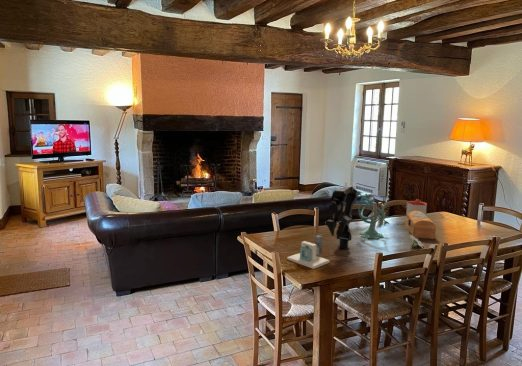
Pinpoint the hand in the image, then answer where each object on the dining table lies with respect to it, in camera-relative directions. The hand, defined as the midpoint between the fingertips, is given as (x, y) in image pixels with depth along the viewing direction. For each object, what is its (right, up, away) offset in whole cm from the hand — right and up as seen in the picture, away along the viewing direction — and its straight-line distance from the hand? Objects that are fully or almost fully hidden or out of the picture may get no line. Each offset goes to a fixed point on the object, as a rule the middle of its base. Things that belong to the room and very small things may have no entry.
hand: (337, 234), depth 248 cm
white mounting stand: (-19, -15, -11) cm, 26 cm away
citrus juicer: (+81, -1, +84) cm, 116 cm away
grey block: (-16, -12, -7) cm, 21 cm away
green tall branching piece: (+34, -7, +43) cm, 55 cm away
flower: (+53, -12, +15) cm, 56 cm away
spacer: (-21, -13, -13) cm, 28 cm away
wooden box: (+72, -6, +54) cm, 91 cm away
